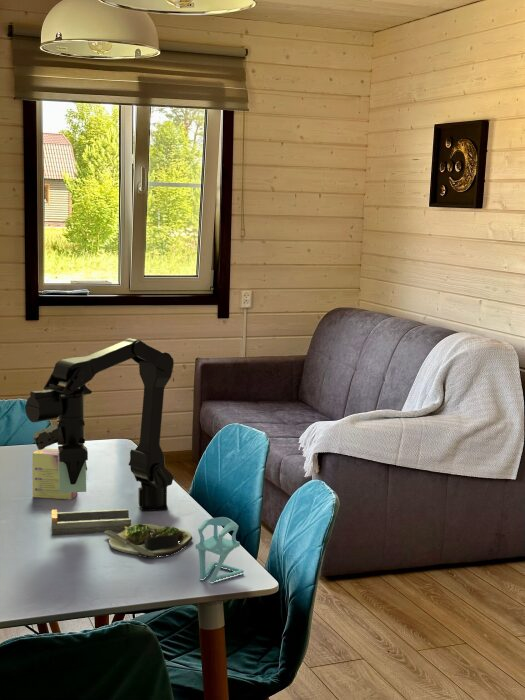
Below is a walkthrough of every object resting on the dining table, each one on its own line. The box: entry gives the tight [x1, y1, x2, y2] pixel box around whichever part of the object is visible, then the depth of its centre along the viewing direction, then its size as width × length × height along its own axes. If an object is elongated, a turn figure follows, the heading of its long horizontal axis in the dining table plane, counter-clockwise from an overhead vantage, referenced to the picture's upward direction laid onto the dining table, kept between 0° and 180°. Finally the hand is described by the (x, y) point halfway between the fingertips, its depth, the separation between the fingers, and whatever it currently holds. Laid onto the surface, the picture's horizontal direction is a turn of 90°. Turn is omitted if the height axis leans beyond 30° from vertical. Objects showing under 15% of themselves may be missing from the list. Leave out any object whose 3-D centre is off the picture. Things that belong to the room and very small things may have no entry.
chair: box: [195, 516, 245, 582], centre depth 188 cm, size 8×8×12 cm
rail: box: [51, 508, 132, 536], centre depth 216 cm, size 18×9×4 cm, turn 103°
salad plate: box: [103, 522, 193, 558], centre depth 206 cm, size 19×18×5 cm
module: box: [58, 454, 87, 493], centre depth 212 cm, size 6×4×8 cm
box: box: [31, 448, 79, 501], centre depth 237 cm, size 10×6×12 cm, turn 84°
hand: (72, 481), depth 212 cm, fingers closed on module, 4 cm apart
